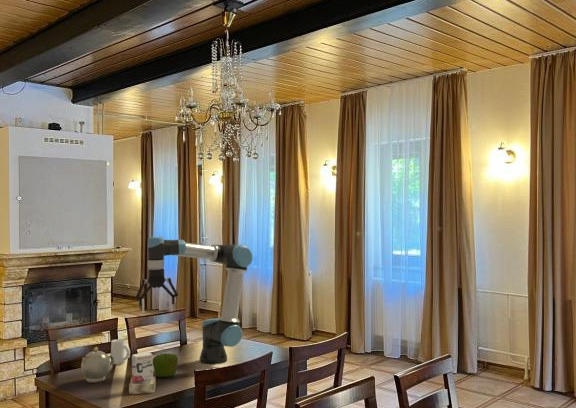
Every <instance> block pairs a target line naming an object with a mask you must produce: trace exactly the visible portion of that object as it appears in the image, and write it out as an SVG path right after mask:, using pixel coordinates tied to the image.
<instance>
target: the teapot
mask: <svg viewBox="0 0 576 408" xmlns="http://www.w3.org/2000/svg"><path fill="white" fill-rule="evenodd" d="M114 365H115V364H114V358H113V356H112V355H111V353H106V352H104V351H101V350H99V348H98V347H97V346H95V347H93V350H92V351H90V352H88V353H87V354H86V355H85V356H84V357H82V360H81V365H80V368H81V371H82V374H83V375H84V376H85V377H86V382H87V383H89V384H97V383H98V382H99V383H103V382H104V381H105V380H106V375H108V373H109V372H110V371H112V370H113V368H114ZM99 383H98V384H99Z"/></svg>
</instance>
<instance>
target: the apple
mask: <svg viewBox="0 0 576 408" xmlns="http://www.w3.org/2000/svg"><path fill="white" fill-rule="evenodd" d="M178 360H179V357H178V356H177V355H176V354H174V353H160V354H157V355H155V356H153V371H154V372H153V373H154V374H155V375H154V376H157V377H159V378H162V379H163V378H164V379H165V378H166V379H167V378H172V377H173V376H174V375H175V374H176V373H177V369H178V362H179V361H178Z"/></svg>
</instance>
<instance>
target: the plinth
mask: <svg viewBox="0 0 576 408" xmlns="http://www.w3.org/2000/svg"><path fill="white" fill-rule="evenodd" d="M156 376H157V375H153V379H152V380H146V381H140V382H134V381H133V380H132V377H131V379H130V381H129V384H128V394H129V395H136V394H137V395H139V394H154V393H155V390H156V385H157V381H156V380H157V379H156Z"/></svg>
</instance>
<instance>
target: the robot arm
mask: <svg viewBox="0 0 576 408" xmlns="http://www.w3.org/2000/svg"><path fill="white" fill-rule="evenodd" d="M146 248H147V260H148V261H147V263H148V265H147V266H148V279H145V278H142V280H141V285H140V287H139V289H138V291H137V293H136V296H135V299H136V300H139V307H141V310H142V311H141V312H142V313H141V314H145V299H144V297H145V296H146V295H147V294H148V292H149V291H150V290H151V289H152V288H153V289H156V288H159V289H160V288H163V290H164V291H165V292H167V294H169V296H170V297H169V298H170V312H173V305H175V300H176V299H175V298H176V297H178V296H179V293H178V291H177V290H176V288H175V286H174V284H173V282H172V279H171V277H167V278H165V269H164V268H165V258H164V257H165V256H175V257H185V258H194V259H201V260H209V262H212V263H218V264H222V265H225V270H226V271H227V275H226V281H225V282H226V283H225V290H224V297H223V303H222V311H221V316H220V317H219V318H210V319H209V318H208V319H204V320H203V321H202V324H201V325H202V326H201V327H202V349H201V352H200V355H199V363H201V364H206V365H207V364H208V365H217V364H223V363H225V362H227V361H228V354H227V351H226V348H225V347H229V348H233V347H236V346H237V345H238V344H239V343H240V342H241V340H242V338H243V330H242V328H241V327H240V323H241V322H240V319H239V318H238V317H239V309H240V304H241V303H240V301H241V294H242V287H243V280H244V279H243V278H244V274H245V273H246V272H247V270H248V266H250V264H251V263H252V262H253V253H252V251H251V249H250V248H249V246H247V245H243V244H230V243H229V244H211V245H207V244H206V245H205V244H201V243H200V244H199V243H192V242H186V241H185V240H184V239H164V237H162V236H155V237H154V236H152V237H148V239H147V247H146ZM166 282H167V283H168V284H169V287H170V288H171V290H172V291H171V290H170V289H169V288H168V287H167V286H166V285H165V283H166ZM147 283H148V284H149V285H148V287H147V288H146V289H145V290H144V292H143V293H142V294H141V292H142V290H143V288H144V286H145V285H146V284H147Z"/></svg>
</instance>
